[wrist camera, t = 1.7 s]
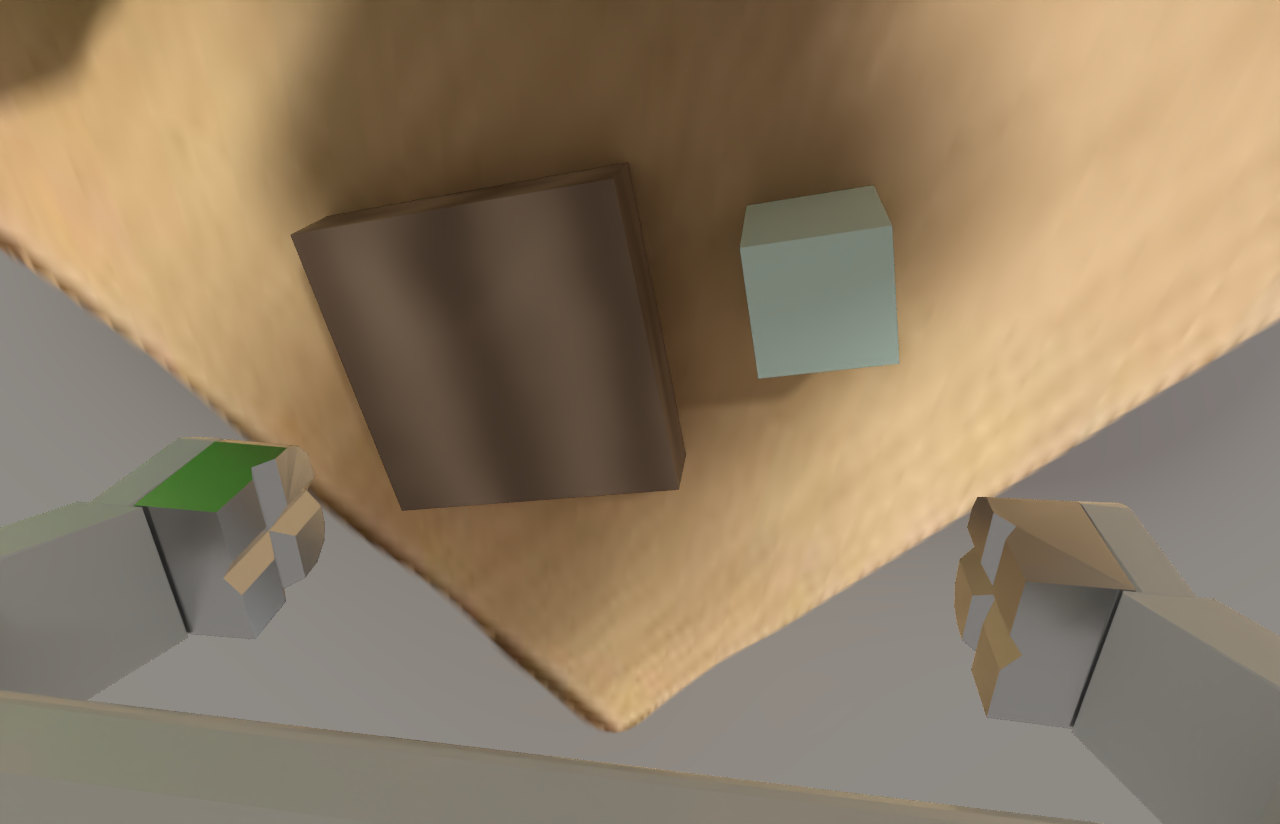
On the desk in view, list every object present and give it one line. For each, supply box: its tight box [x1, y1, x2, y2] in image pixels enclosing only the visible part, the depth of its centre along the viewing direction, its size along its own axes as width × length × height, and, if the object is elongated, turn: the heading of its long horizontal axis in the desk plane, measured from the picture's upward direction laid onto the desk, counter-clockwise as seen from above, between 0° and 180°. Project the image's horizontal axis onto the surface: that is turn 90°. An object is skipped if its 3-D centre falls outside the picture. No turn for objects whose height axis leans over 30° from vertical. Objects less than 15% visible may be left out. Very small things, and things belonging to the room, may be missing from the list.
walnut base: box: [291, 163, 686, 511], centre depth 35 cm, size 14×14×3 cm
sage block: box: [740, 185, 899, 379], centre depth 30 cm, size 5×5×6 cm
